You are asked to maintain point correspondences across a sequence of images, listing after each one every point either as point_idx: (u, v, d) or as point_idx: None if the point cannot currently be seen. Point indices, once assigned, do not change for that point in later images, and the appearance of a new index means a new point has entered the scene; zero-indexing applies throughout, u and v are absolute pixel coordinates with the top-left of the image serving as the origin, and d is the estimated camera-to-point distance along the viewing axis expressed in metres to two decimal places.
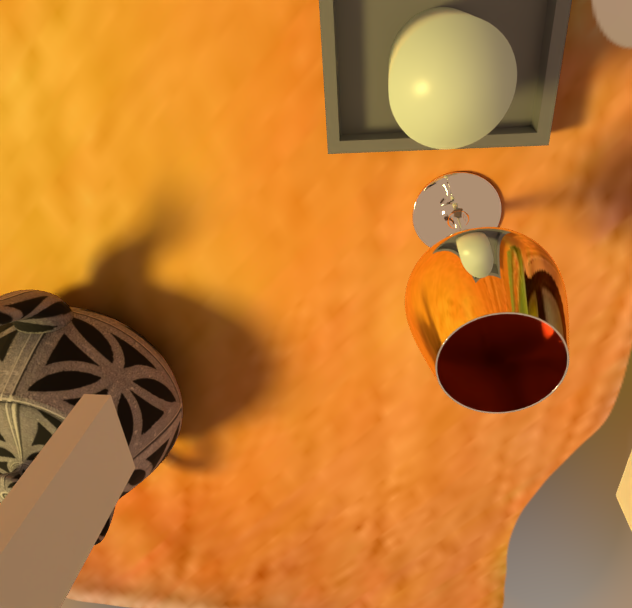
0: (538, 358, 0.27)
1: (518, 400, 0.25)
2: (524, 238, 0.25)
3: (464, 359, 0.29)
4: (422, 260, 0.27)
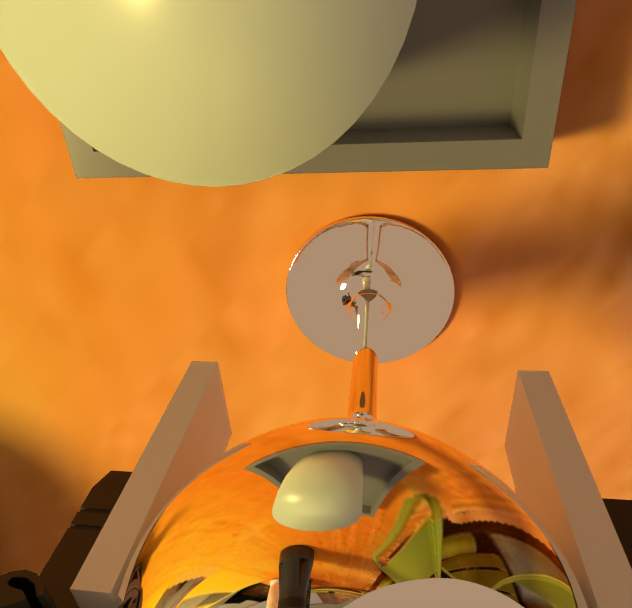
0: None
1: None
2: (461, 517, 0.07)
3: None
4: (144, 539, 0.08)
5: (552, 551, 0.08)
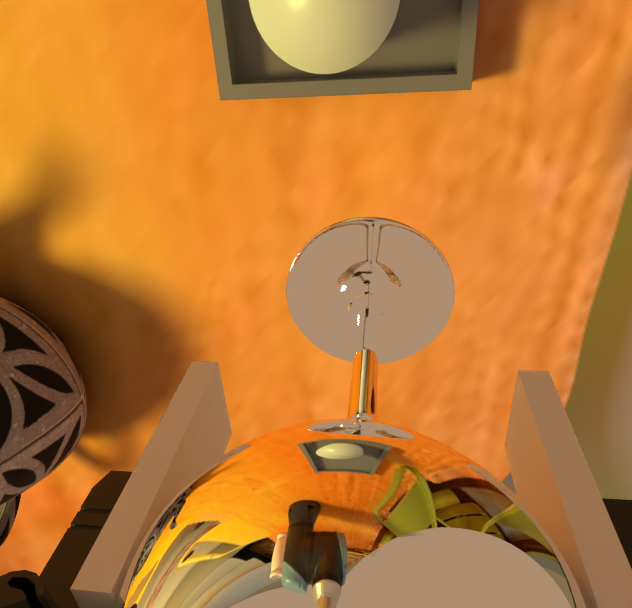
0: None
1: None
2: (461, 518, 0.07)
3: None
4: (145, 540, 0.08)
5: (551, 552, 0.08)
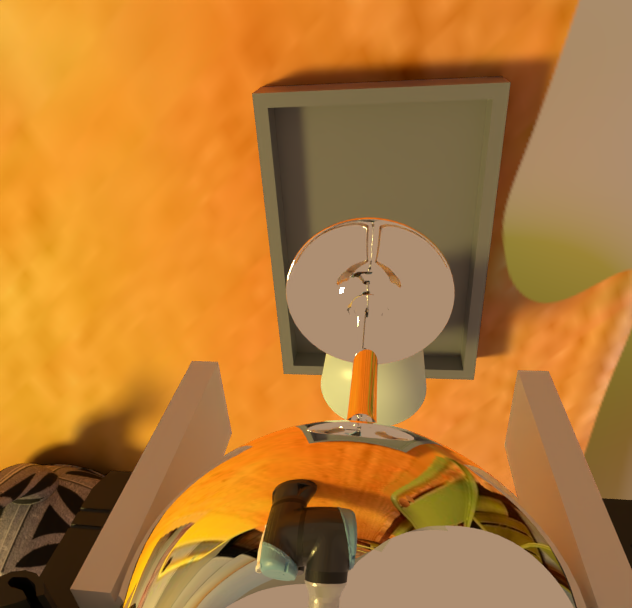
0: None
1: None
2: (461, 520, 0.07)
3: None
4: (144, 542, 0.08)
5: (552, 555, 0.08)
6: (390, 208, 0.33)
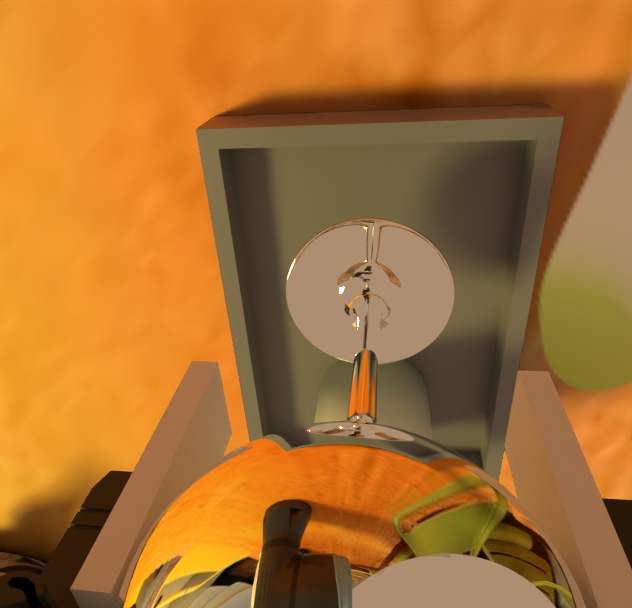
0: None
1: None
2: (462, 522, 0.07)
3: None
4: (143, 543, 0.08)
5: (553, 556, 0.08)
6: None
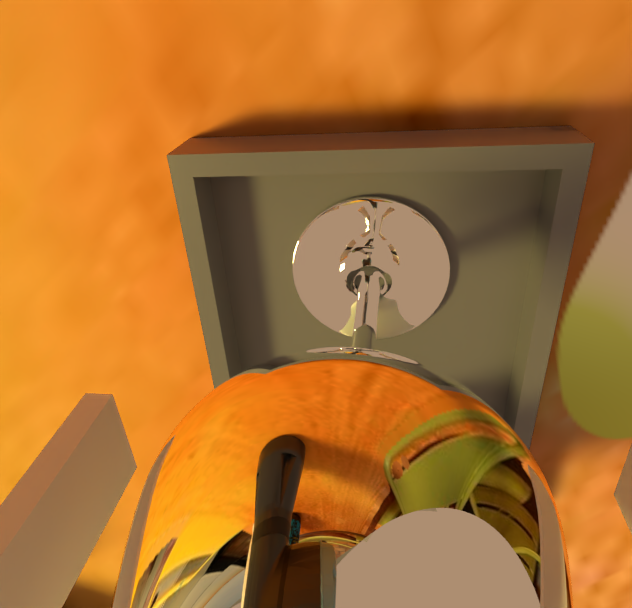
0: None
1: None
2: (439, 406, 0.08)
3: None
4: (167, 441, 0.10)
5: (520, 446, 0.09)
6: None
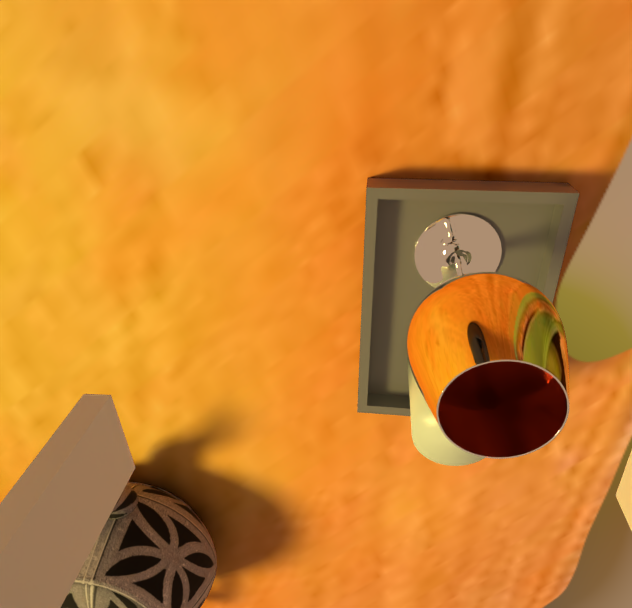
0: (536, 404, 0.27)
1: (516, 446, 0.25)
2: (528, 285, 0.26)
3: (462, 400, 0.29)
4: (426, 300, 0.27)
5: (551, 303, 0.27)
6: None
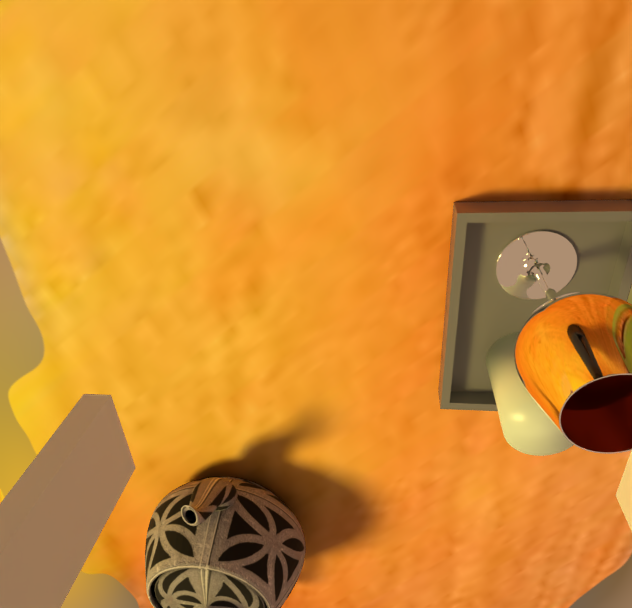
0: None
1: (623, 441, 0.30)
2: (626, 304, 0.30)
3: None
4: (535, 320, 0.32)
5: None
6: None
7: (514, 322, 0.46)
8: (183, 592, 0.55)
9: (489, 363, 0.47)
